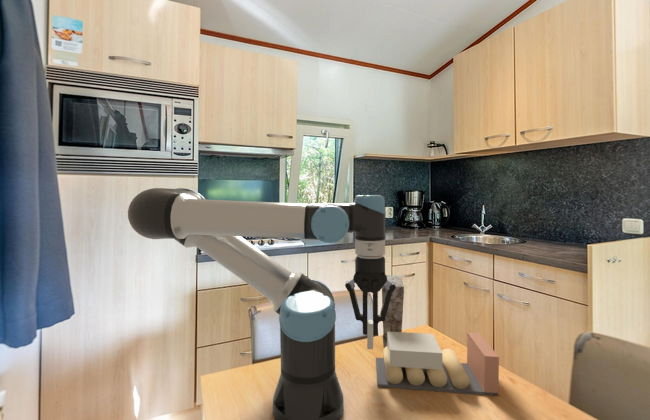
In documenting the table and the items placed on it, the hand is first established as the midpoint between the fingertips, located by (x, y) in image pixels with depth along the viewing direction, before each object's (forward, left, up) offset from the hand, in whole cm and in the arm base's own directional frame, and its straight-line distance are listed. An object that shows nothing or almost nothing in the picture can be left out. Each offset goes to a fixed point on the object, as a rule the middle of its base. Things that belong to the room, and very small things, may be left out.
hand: (370, 346), depth 79 cm
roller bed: (+15, 0, -7) cm, 17 cm away
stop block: (+27, 0, -7) cm, 28 cm away
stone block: (+7, +16, -7) cm, 19 cm away
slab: (+11, 0, -2) cm, 11 cm away
